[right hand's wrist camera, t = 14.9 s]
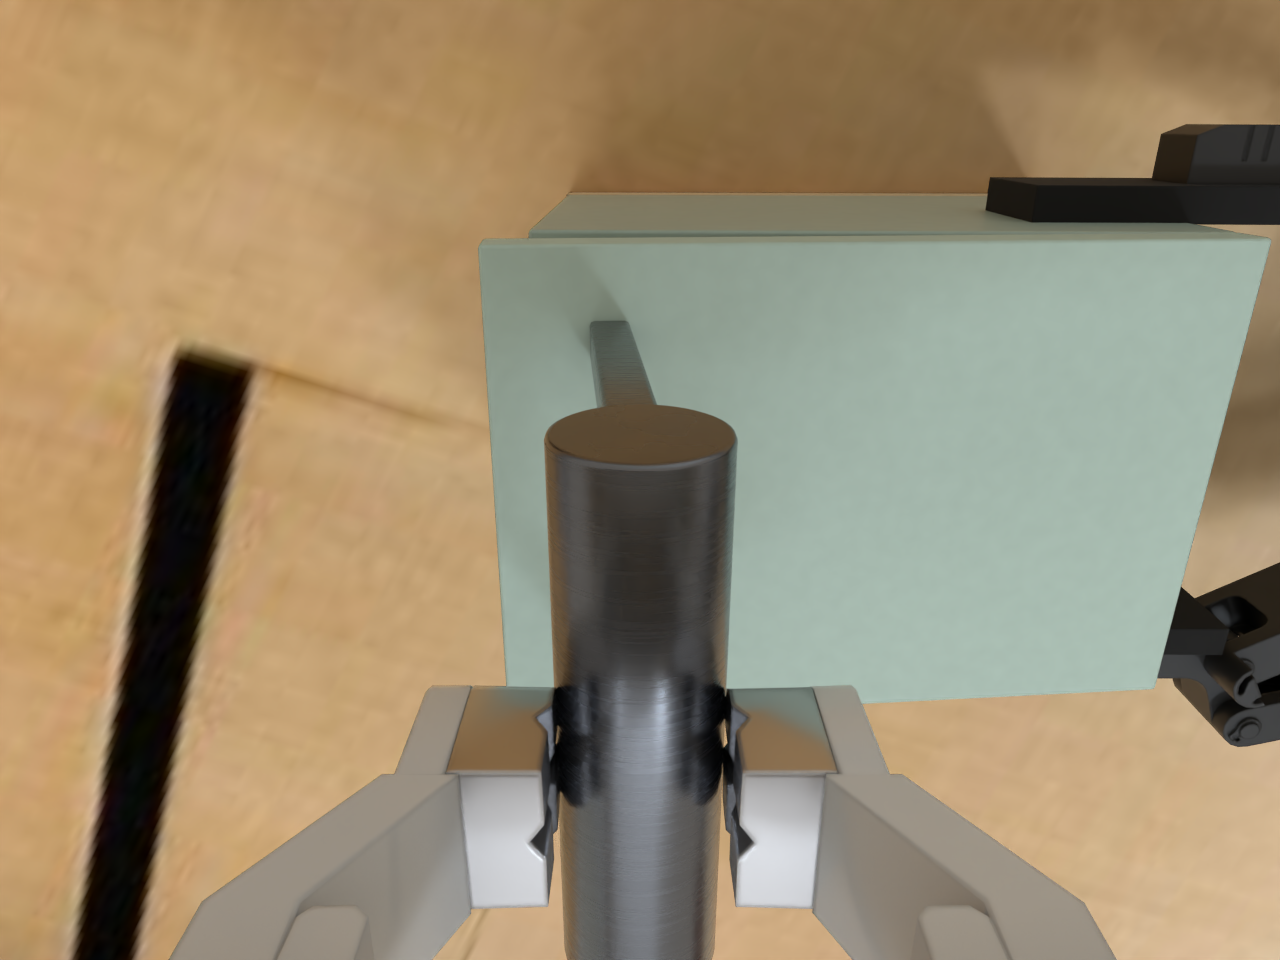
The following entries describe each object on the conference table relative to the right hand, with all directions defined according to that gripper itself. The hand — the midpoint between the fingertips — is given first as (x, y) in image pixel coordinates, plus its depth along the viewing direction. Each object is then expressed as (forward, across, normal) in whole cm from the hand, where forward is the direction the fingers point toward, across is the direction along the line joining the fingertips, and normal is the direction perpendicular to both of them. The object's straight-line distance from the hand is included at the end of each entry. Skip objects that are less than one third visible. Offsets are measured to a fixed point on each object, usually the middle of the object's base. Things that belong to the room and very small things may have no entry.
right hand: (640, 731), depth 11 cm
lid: (+8, -4, 0) cm, 9 cm away
